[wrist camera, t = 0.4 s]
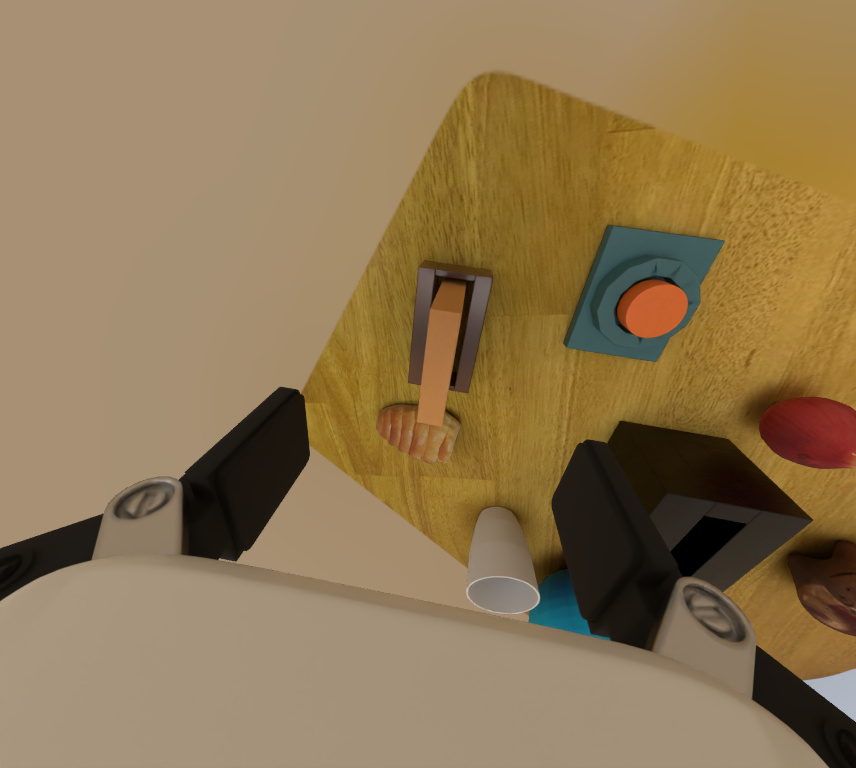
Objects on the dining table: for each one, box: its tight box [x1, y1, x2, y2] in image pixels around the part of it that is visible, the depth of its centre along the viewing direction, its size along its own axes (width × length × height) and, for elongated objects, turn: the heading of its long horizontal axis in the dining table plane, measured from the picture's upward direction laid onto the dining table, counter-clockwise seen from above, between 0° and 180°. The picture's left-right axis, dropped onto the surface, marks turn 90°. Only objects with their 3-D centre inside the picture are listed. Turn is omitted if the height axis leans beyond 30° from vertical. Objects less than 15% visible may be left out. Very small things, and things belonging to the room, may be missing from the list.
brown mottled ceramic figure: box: [788, 541, 856, 636], centre depth 35 cm, size 10×15×8 cm, turn 50°
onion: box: [759, 397, 856, 469], centre depth 26 cm, size 6×6×8 cm
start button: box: [617, 279, 688, 338], centre depth 23 cm, size 4×4×2 cm
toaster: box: [608, 421, 813, 592], centre depth 32 cm, size 15×11×10 cm
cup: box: [466, 507, 540, 614], centre depth 39 cm, size 8×8×10 cm
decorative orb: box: [529, 569, 611, 641], centre depth 41 cm, size 15×15×15 cm
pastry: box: [376, 404, 461, 463], centre depth 35 cm, size 9×7×4 cm
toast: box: [417, 277, 467, 427], centre depth 25 cm, size 9×2×10 cm, turn 173°
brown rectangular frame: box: [408, 261, 493, 393], centre depth 28 cm, size 11×6×3 cm, turn 173°
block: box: [564, 225, 725, 362], centre depth 25 cm, size 10×8×3 cm
